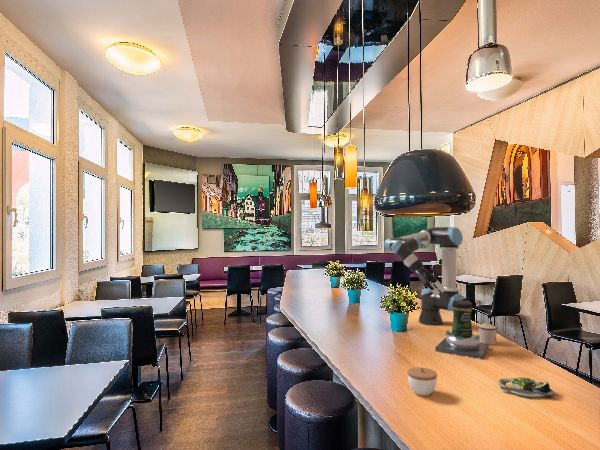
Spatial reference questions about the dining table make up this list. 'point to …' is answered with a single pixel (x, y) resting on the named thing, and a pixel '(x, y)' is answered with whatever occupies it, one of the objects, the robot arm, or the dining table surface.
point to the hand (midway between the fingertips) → (441, 292)
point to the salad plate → (526, 387)
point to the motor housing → (462, 346)
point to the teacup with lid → (487, 333)
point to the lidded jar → (422, 380)
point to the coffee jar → (462, 318)
